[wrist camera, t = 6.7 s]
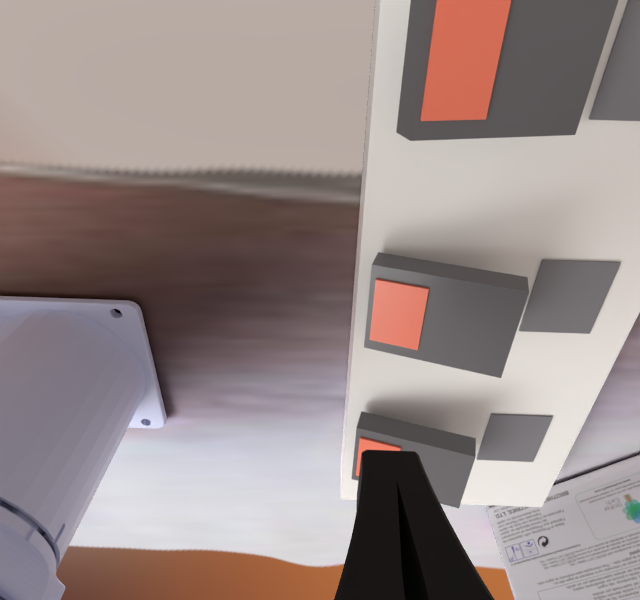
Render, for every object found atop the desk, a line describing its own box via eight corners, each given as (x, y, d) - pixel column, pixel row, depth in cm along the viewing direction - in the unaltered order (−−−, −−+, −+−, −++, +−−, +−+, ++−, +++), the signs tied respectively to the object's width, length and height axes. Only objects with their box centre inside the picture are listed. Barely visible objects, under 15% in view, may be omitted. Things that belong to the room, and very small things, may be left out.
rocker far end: (356, 462, 22) (350, 480, 21) (361, 411, 20) (355, 429, 19) (459, 489, 21) (458, 510, 20) (475, 438, 19) (475, 458, 18)
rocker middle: (369, 332, 18) (363, 348, 17) (378, 252, 16) (371, 265, 15) (500, 360, 17) (501, 379, 16) (527, 276, 15) (529, 293, 14)
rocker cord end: (396, 132, 12) (412, 141, 11) (413, -30, 10) (434, -33, 9) (552, 127, 13) (577, 135, 12) (594, -20, 11) (629, -23, 11)
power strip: (340, 467, 26) (340, 501, 24) (417, -566, 9) (438, -712, 7) (528, 475, 26) (542, 508, 24) (987, -560, 9) (1157, -709, 7)
